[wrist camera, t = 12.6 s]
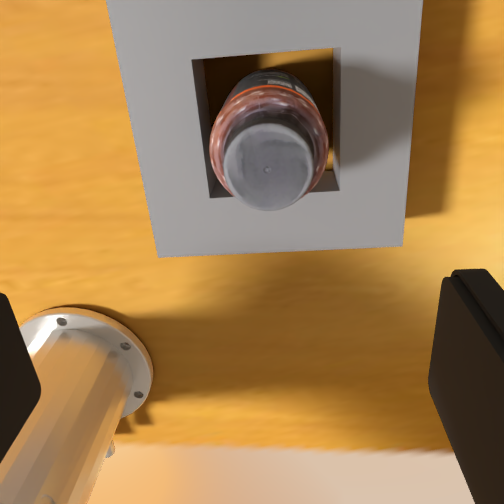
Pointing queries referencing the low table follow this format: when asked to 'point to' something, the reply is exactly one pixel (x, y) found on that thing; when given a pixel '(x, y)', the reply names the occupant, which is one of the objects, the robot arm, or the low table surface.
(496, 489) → the robot arm
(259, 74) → the supplement bottle
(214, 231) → the socket block
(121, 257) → the low table surface
